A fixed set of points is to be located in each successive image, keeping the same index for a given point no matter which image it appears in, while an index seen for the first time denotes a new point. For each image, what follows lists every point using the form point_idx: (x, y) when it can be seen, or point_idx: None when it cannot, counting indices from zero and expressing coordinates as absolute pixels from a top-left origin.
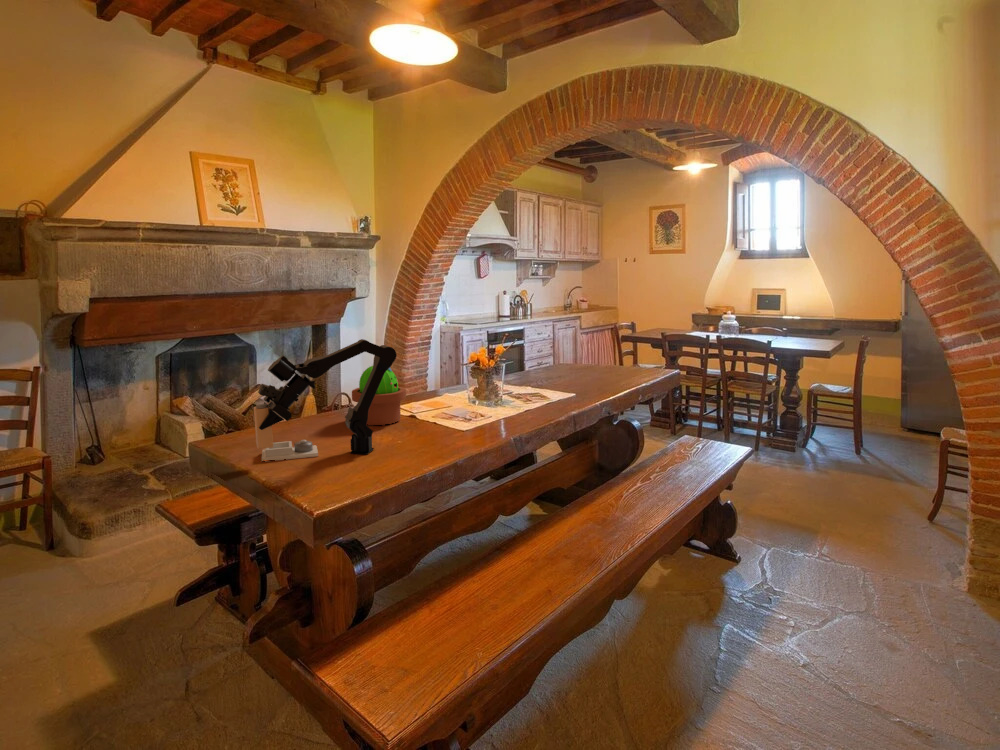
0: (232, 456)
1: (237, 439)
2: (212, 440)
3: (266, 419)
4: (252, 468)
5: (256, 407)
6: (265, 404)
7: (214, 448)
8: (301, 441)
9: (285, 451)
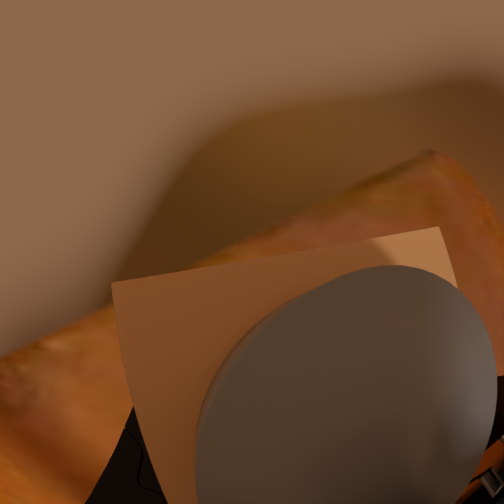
0: (362, 226)
1: (482, 236)
2: (470, 183)
3: (123, 444)
4: None
5: (300, 294)
6: (431, 502)
7: (428, 182)
8: None
9: None
